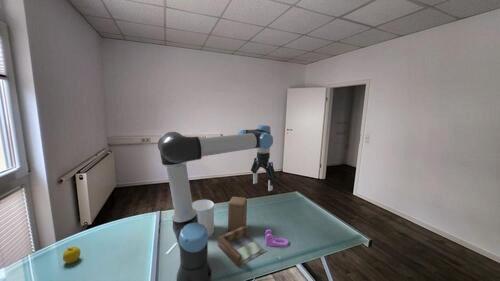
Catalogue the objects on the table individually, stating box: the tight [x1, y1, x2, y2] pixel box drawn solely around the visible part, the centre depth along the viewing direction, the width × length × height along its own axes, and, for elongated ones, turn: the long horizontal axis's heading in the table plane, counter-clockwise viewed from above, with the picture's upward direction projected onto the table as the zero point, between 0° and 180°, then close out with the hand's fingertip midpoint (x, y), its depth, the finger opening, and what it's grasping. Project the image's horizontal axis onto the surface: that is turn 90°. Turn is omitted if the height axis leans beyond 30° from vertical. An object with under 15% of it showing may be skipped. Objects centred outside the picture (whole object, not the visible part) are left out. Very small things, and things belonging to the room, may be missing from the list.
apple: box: [62, 246, 81, 264], centre depth 94 cm, size 6×6×8 cm
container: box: [192, 199, 215, 238], centre depth 120 cm, size 14×14×18 cm
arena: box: [217, 224, 267, 269], centre depth 106 cm, size 19×19×6 cm
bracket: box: [264, 229, 289, 248], centre depth 112 cm, size 13×6×7 cm, turn 90°
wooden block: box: [227, 196, 248, 233], centre depth 123 cm, size 10×10×20 cm
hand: (262, 186), depth 116 cm, fingers open, 13 cm apart
